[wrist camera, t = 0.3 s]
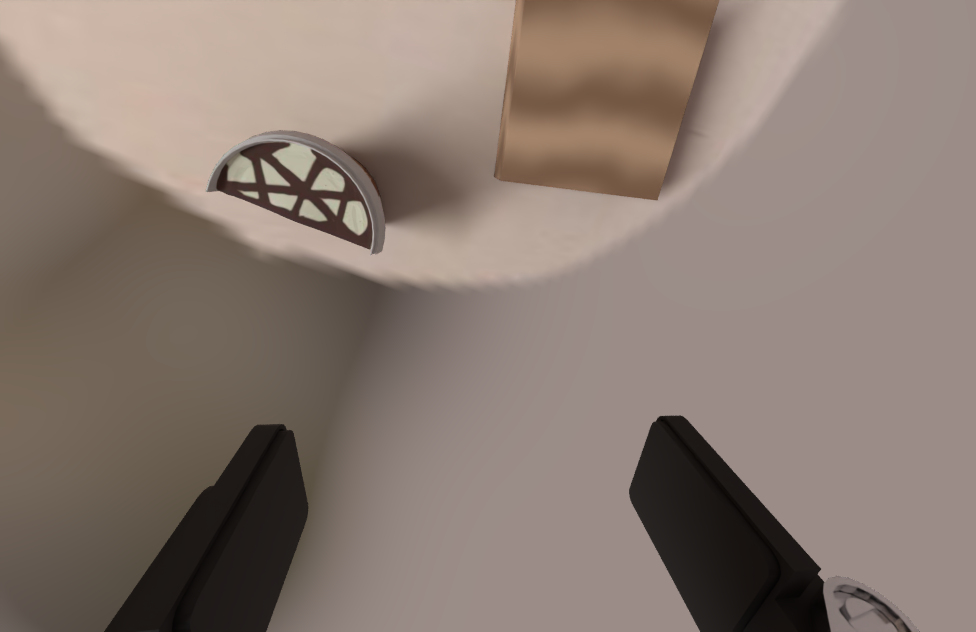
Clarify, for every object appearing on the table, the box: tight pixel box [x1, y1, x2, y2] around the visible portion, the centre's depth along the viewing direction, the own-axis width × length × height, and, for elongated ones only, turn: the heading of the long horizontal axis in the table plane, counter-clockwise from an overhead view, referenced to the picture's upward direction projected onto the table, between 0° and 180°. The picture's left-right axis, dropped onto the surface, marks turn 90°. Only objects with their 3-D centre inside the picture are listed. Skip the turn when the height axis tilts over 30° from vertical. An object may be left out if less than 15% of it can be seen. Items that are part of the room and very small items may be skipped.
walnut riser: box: [494, 0, 719, 200], centre depth 31 cm, size 15×15×4 cm
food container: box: [206, 130, 385, 255], centre depth 29 cm, size 12×6×10 cm, turn 65°
